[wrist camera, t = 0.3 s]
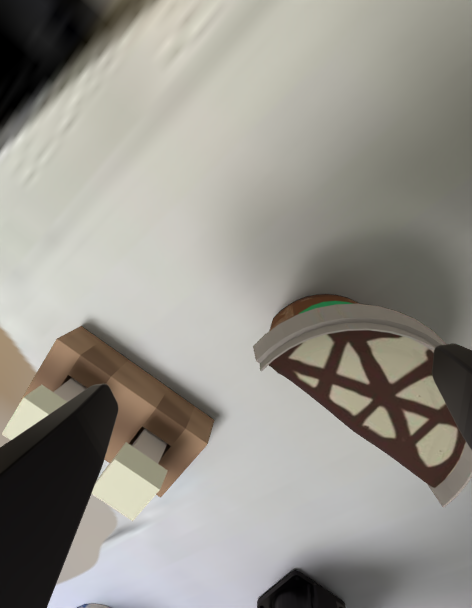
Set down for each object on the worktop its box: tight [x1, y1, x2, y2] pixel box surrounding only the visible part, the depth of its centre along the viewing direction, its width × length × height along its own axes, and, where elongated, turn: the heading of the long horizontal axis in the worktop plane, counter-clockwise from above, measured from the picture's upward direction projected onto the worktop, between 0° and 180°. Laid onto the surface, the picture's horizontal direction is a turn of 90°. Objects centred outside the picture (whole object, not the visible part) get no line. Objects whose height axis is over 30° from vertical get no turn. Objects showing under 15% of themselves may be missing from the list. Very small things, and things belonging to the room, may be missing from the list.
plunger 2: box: [91, 428, 168, 521], centre depth 22 cm, size 4×4×5 cm
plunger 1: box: [2, 378, 87, 440], centre depth 22 cm, size 4×4×5 cm
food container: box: [253, 294, 472, 507], centre depth 18 cm, size 12×6×10 cm, turn 53°
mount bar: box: [20, 326, 214, 497], centre depth 25 cm, size 7×14×3 cm, turn 54°
